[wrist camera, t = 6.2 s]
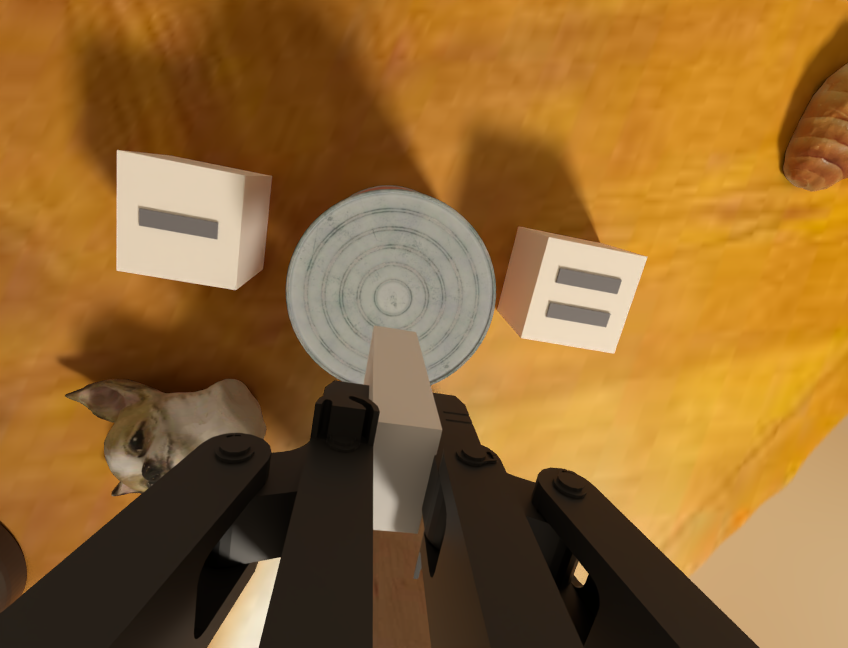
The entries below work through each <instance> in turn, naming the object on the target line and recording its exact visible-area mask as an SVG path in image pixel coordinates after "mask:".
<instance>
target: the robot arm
mask: <svg viewBox="0 0 848 648" xmlns="http://www.w3.org/2000/svg"><path fill="white" fill-rule="evenodd" d="M422 515H423V523H424V533H423V537H422V541H421V545H420V549H419V554H418V558H417V562H416V566H415V570H414V577H413V579H418V578H419V574H420V570H421V569H422V573H423V582H424V590H425V599H426V607H427V616H428V625H429V633H430V642H431V648H759V647H758V646H757V645H756V644H755V643H754V642H753V641H752V640H751V639H750V638H749V637H748V636H747V635H746V634H745V633H744V632H743V631H742V630H741V629H740V628H739V627H738V626H737V625H736V624H735V623H734V622H733V621H732V620H731V619H729V618H728V617H727V615H726V614H724V613H723V612H722V611H721V610H720V609H719V608H718V607H717V606H716V605H715V604H714V603H713V602H712V601H711V600H710V599H709V598H708V597H707V596H706V595H705V594H704V593H703V592H702V591H701V590H700V589H699V588H698V587H697V586H696V585H695V584H694V583H693V582H691V580H690V579H689V578H688V577H687V576H686V575H685V574H684V573H683V572H682V571H681V570H680V569H679V568H678V567H676V566H675V565H674V564H673V563H672V562H671V561H670V560H669V559H668V558H667V557H666V556H665V555H664V554H663V553H662V552H661V551H660V550H659V549H658V548H657V547H656V546H655V545H654V544H653V543H652V542H651V541H650V540H649V539H648V538H647V537H646V536H645V535H644V534H643V533H642V532H641V531H640V530H639V529H638V528H637V527H636V526H635V525H634V524H633V523H632V522H630V521H629V520H628V519H627V518H626V517H625V516H624V515H623V514H622V513H621V512H620V511H619V510H618V509H617V508H616V507H615V506H614V505H613V504H612V503H611V502H610V501H609V500H608V499H607V498H606V497H605V496H604V495H603V494H602V493H601V492H600V491H599V490H598V489H597V488H596V487H595V486H594V485H592V484H591V483H590V482H589V481H587V480H586V479H585V478H583V477H581V476H579V475H577V474H576V473H575V472H572V471H570V470H568V471H567V470H566V469H561V468H547V469H543V470H542V471H541V472H540V473H539V474H538V477H537V480H536V483H535V482H531V481H528V480H525V479H522V478H519V477H516V476H513V475H511V474H508V473H506V471H505V468H504V466H503V464H502V462H501V460H500V458H499V457H498V456H497V454H496V453H494V452H493V451H491V450H490V449H489V448H487V447H485V446H483V445H481V444H480V441H479V439H478V436H477V434H476V431H475V429H474V426H473V424H472V421H471V419H470V417H469V414H468V411H467V409H466V406H465V405H464V404H463V403H462V402H461V401H460V400H459V399H458V398H457V397H456V396H452V395H445V394H438V393H432V389H431V386H430V382H429V378H428V374H427V371H426V367H425V363H424V359H423V356H422V352H421V348H420V344H419V341H418V337H417V333H416V332H412V331H406V330H400V329H394V328H387V327H381V326H375V325H374V327H373V333H372V339H371V344H370V350H369V356H368V361H367V367H366V373H365V378H364V384H356V383H349V382H341V381H333V382H332V383H330V384H329V385H328V386H326V387H325V390H324V394H323V396H322V397H320V398H319V399H318V401H317V402H316V403H315V410H314V417H313V424H312V431H311V438H310V441H309V442H308V443H307V444H306V445H304V446H302V447H300V448H297V449H294V450H291V451H285V452H276V453H271V449H270V445H269V444H268V443H267V442H266V441H265V440H263V439H262V438H259V437H257V436H254V435H252V434H245V433H226V434H222V435H218V436H214V437H212V438H210V439H208V440H206V441H205V442H203V443H201V444H200V445H199V446H198V447H197V448H196V449H194V450H193V451H192V452H191V453H190V454H188V455H187V456H186V457H185V458H184V459H183V460H181V461H180V462H179V463H178V464H177V465H175V466H174V467H173V468H172V469H171V470H169V471H168V472H167V473H166V474H165V475H164V476H162V477H161V478H160V479H159V480H158V481H156V482H155V483H154V484H153V485H152V486H151V487H149V488H148V489H147V490H146V491H145V492H143V493H142V494H141V495H140V496H139V497H138V498H136V499H135V500H134V501H133V502H132V503H130V504H129V505H128V506H127V507H126V508H125V509H123V510H122V511H121V512H120V513H119V514H117V515H116V516H115V517H114V518H113V519H111V520H110V521H109V522H108V523H107V524H106V525H104V526H103V527H102V528H101V529H100V530H98V531H97V532H96V533H95V534H94V535H93V536H91V537H90V538H89V539H88V540H87V541H85V542H84V543H83V544H82V545H81V546H80V547H78V548H77V549H76V550H75V551H74V552H72V553H71V554H70V555H69V556H68V557H66V558H65V559H64V560H63V561H62V562H61V563H59V564H58V565H57V566H56V567H55V568H53V569H52V570H51V571H50V572H49V573H48V574H46V575H45V576H44V577H43V578H42V579H40V580H39V581H38V582H37V583H36V584H35V585H33V586H32V587H31V588H30V589H29V590H27V591H26V592H25V593H24V594H23V595H22V596H21V594H22V593H23V590H24V588H25V584H26V579H27V569H26V563H25V559H24V556H23V554H22V551H21V549H20V547H19V546H18V544H17V542H16V541H15V540H14V538H13V537H12V536H11V535H10V533H9V532H8V531H7V530H6V529H5V528H4V527H3V526H2V525H1V524H0V648H207V647H208V645H209V643H210V642H211V640H212V639H213V637H214V635H215V634H216V632H217V631H218V629H219V627H220V626H221V624H222V623H223V621H224V619H225V618H226V616H227V615H228V613H229V612H230V610H231V608H232V607H233V605H234V604H235V602H236V600H237V599H238V597H239V596H240V594H241V592H242V591H243V589H244V588H245V586H246V584H247V583H248V581H249V580H250V578H251V576H252V575H253V573H254V572H255V569H256V566H257V564H258V561H262V560H267V559H273V558H278V557H281V560H280V564H279V568H278V572H277V576H276V580H275V584H274V588H273V592H272V596H271V600H270V604H269V608H268V612H267V616H266V620H265V624H264V628H263V633H262V637H261V641H260V645H259V648H373V530H382V531H393V532H404V533H415V534H418V530H419V526H420V522H421V518H422ZM578 561H579V562H580V563H581V565H582V566H583V567H584V568H585V570H586V571H587V572H588V573H589V575H588V577H587V580H586V583H585V584H584V585H582V584H581V583H580V582H579V581H578V580H577V578H576V577H575V576H574V572H575V569H576V567H577V564H578Z"/></svg>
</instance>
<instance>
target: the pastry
mask: <svg viewBox="0 0 848 648" xmlns="http://www.w3.org/2000/svg"><path fill="white" fill-rule="evenodd" d="M783 171H784V174H785V177H786V179H787V180H789V181H790V182H791V183H792V184H793V185H794V186H796V187H800V188H803V189H806V190H809V191H817V190H822V189H827V188H828V187H830V186H832V185H833V184H835V183H837V182H838V181H840V180H842V179H845V178H848V63H847V64H845V65H844V66H843V67H842V68H840V69H839V70H838V71H836V72H835V73H834V74H832V75H831V76H830V77H829V78H827V79H826V81H825V82H824V84H823V85H822V86H821V87H820V89H819V90H818V91H817V92H816V93H815V94H814V95H813V97H812V99H811V101H810V103H809V105H808V106H807V107H806V110H805V113H804V114H803V116H802V117H801V119H800V121H799V124H798V126H797V128H796V130H795V132H794V134H793V136H792V138H791V140H790V142H789V145H788V147H787V150H786V152H785V162H784V166H783Z"/></svg>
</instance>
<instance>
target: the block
mask: <svg viewBox="0 0 848 648" xmlns="http://www.w3.org/2000/svg"><path fill="white" fill-rule="evenodd" d="M423 533H424V523H423V515H422V518H421V522H420V526H419V530H418V534H415V533H404V532H393V531H382V530H373V648H431V642H430V633H429V625H428V616H427V607H426V599H425V590H424V582H423V573H422V569H421V570H420V574H419V578H418V579H413V577H414V570H415V566H416V562H417V558H418V554H419V549H420V545H421V541H422V537H423Z"/></svg>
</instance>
